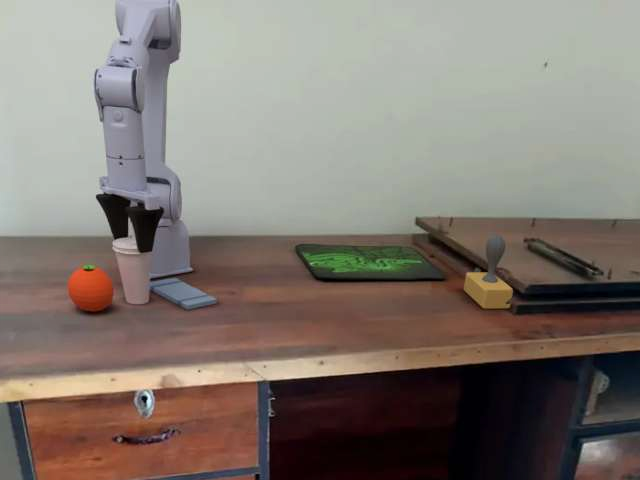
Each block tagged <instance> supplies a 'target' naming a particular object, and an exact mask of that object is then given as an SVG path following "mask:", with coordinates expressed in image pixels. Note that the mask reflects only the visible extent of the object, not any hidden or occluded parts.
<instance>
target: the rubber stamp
mask: <svg viewBox="0 0 640 480" xmlns="http://www.w3.org/2000/svg"><path fill="white" fill-rule="evenodd" d="M505 251H506V242H505V238H503V237H502V235H501V236H500V235H499V234H494V235H492V236H490V237H489V239H488V240H487V241H486V245H485V254H486V259H487V266H488V270H487V271H486V272H483V271H482V272H480V271H479V272H477V271H476V272H475V271H474V272H471V271H470V272H469V271H468V272H466V273H465V277H464V282H463V283H464V284H463V285H464V286H463V292H465V293H466V294H467V295H468V296H469V297H470V298H471V299H472V300H473V301H474V302H476V303H477V304H478V305H479V306H480V307H481V308H482V309H510V308H511V305H512V302H511V303H510V304H506V302H507V301H508V300H509V299H511V298H512V299H513V295H514V290H513V288H512V287H511V286H510V285H509V284H508V283H506V282H505V281H504V280H502V278H500V277H499V276H497V275H496V268H497V266H498V264H499V262H500V261H501V259H502V258H503V255H504V253H505Z"/></svg>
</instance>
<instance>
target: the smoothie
mask: <svg viewBox="0 0 640 480" xmlns="http://www.w3.org/2000/svg"><path fill="white" fill-rule="evenodd" d="M130 224H131V234H132V236H128V237H126V238H119V239H116V240H114V239H113V241H112V251H114V252H115V257H116V261H117V265H118V266H117V267H118V270H119V276H120V280H121V283H122V288H123V292H124V297H125V302H127V303H128V304H131V305H144V304H147V303H149V301H150V282H151V279H150V270H151V252H146V253H140V252H139V251H138V248H137V244H136V238H135V232H134V228H133V225H132V222H131V223H130ZM152 251H153V250H152Z"/></svg>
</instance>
